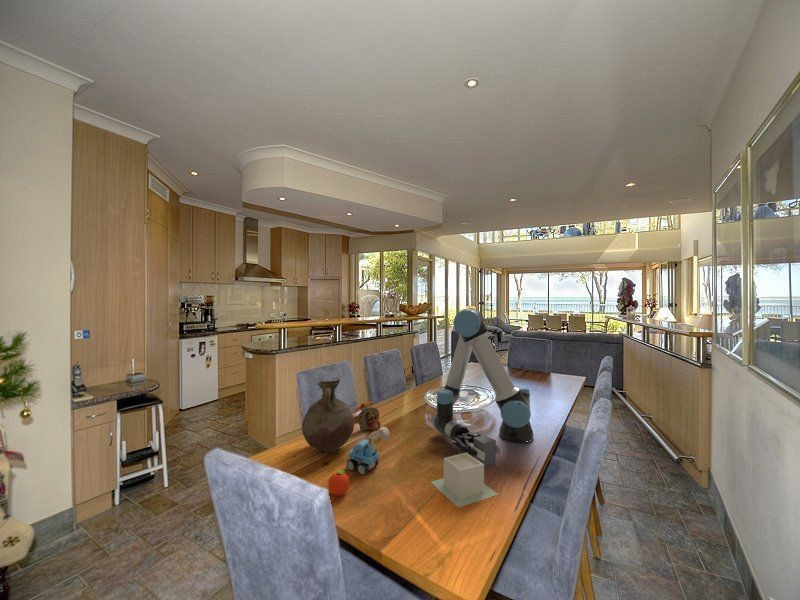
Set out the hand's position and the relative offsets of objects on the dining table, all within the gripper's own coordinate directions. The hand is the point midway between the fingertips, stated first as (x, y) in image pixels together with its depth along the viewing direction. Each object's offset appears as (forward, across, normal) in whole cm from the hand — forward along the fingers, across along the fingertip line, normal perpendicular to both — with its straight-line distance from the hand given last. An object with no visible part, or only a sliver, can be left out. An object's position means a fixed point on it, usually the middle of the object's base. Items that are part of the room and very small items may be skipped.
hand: (492, 454), depth 129 cm
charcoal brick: (-5, 0, -6) cm, 8 cm away
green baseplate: (+6, +18, -6) cm, 20 cm away
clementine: (-11, +56, -6) cm, 57 cm away
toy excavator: (-20, +42, -6) cm, 47 cm away
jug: (-44, +51, -6) cm, 68 cm away
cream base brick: (+6, +18, -5) cm, 20 cm away
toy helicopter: (-57, +32, -6) cm, 66 cm away
